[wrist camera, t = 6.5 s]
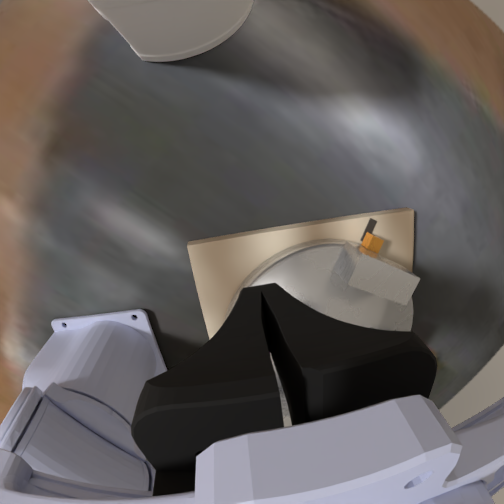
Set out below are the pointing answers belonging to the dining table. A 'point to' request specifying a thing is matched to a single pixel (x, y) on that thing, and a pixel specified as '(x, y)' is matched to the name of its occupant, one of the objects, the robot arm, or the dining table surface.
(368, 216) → the nut base
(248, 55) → the dining table surface
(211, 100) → the dining table surface
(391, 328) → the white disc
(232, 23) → the jar
